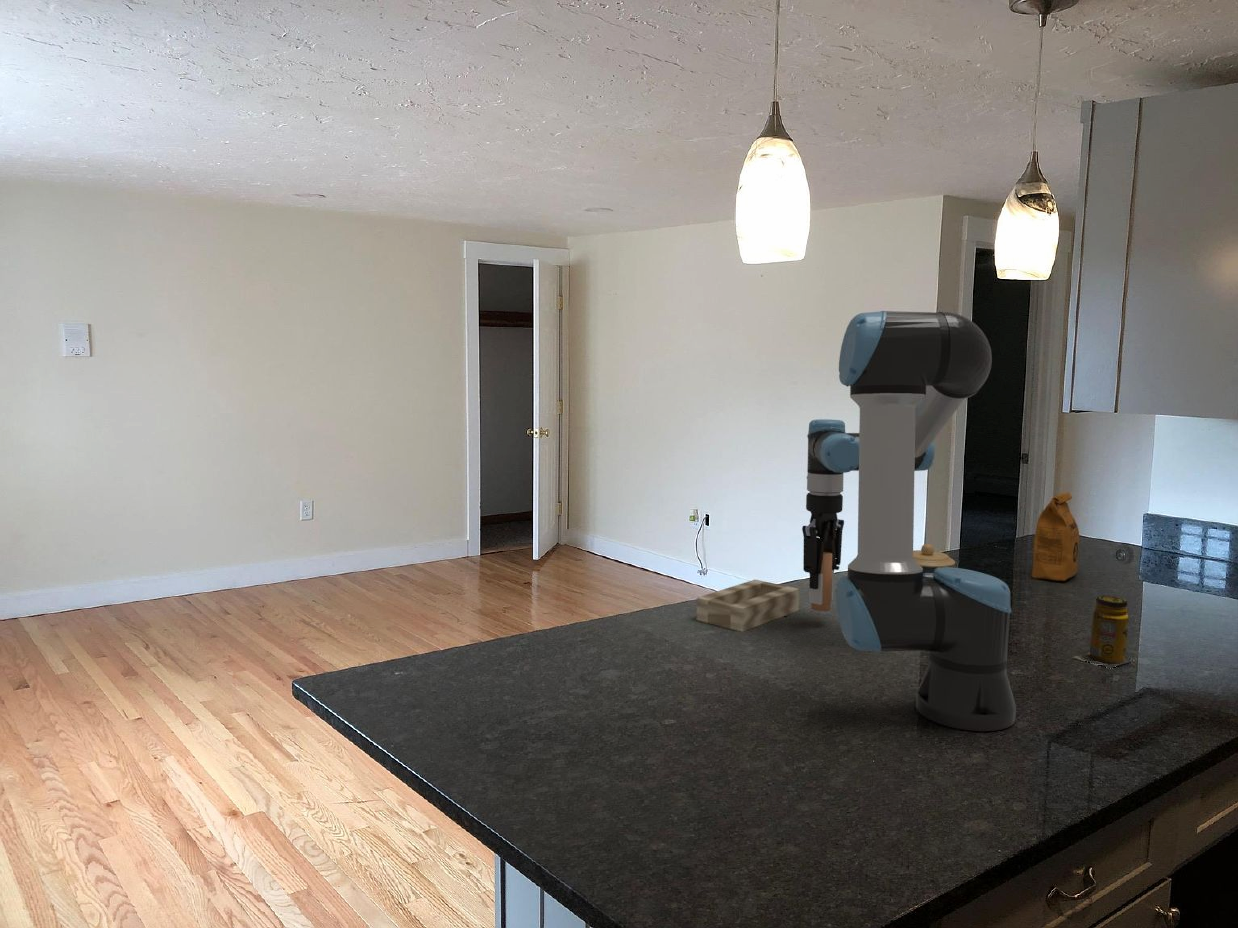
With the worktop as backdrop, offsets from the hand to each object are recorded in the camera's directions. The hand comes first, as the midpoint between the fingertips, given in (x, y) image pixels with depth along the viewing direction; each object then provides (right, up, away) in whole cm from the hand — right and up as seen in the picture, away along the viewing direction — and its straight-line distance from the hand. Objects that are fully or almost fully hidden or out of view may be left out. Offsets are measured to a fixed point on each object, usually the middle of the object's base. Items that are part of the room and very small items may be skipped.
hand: (821, 600), depth 194 cm
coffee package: (+71, -1, +43) cm, 83 cm away
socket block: (-14, -4, +8) cm, 17 cm away
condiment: (+50, -8, -20) cm, 54 cm away
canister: (+23, -5, +2) cm, 23 cm away
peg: (0, -2, 0) cm, 2 cm away
